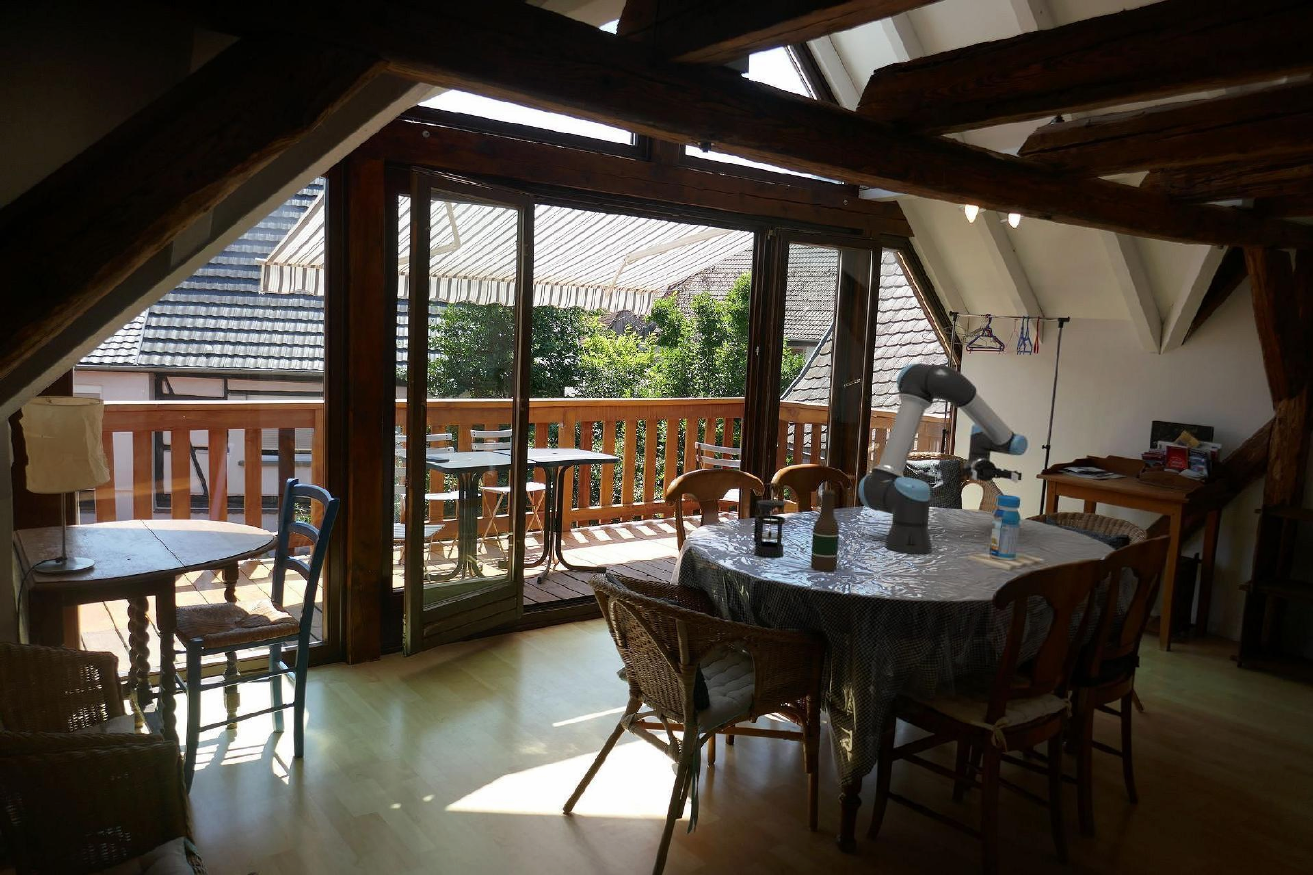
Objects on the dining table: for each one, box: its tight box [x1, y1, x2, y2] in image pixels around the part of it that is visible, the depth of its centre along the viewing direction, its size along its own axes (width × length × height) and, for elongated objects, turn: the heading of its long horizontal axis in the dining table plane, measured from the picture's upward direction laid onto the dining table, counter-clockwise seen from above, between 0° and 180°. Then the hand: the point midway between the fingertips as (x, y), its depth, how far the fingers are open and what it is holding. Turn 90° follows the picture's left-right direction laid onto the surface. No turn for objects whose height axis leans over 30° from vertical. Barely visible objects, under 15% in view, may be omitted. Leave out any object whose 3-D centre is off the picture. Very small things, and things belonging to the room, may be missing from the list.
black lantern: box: [753, 482, 787, 559], centre depth 303 cm, size 12×9×23 cm
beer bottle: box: [810, 489, 840, 573], centre depth 287 cm, size 8×8×24 cm
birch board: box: [966, 552, 1045, 571], centre depth 309 cm, size 20×15×1 cm
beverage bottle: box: [988, 494, 1021, 560], centre depth 308 cm, size 8×8×20 cm
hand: (996, 477), depth 325 cm, fingers open, 13 cm apart
